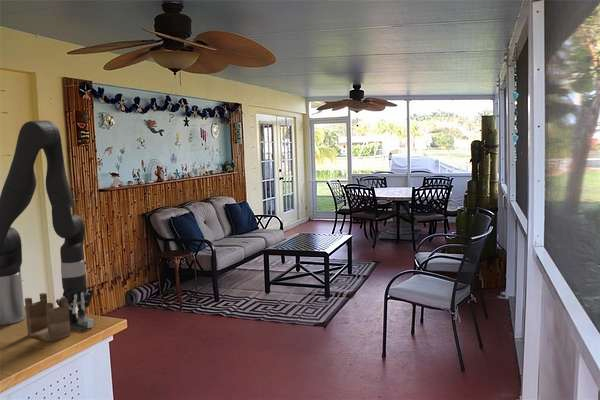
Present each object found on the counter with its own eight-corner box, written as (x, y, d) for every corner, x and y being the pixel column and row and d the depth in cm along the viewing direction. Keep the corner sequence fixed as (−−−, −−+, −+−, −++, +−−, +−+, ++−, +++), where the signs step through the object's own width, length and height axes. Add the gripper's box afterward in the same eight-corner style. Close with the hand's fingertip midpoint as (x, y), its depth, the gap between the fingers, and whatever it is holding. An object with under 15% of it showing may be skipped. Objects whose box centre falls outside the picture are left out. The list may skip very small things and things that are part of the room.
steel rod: (61, 319, 176) (60, 312, 176) (67, 316, 178) (67, 310, 178) (87, 328, 169) (87, 321, 169) (93, 325, 171) (93, 319, 171)
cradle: (28, 334, 166) (24, 298, 164) (46, 328, 171) (42, 292, 170) (52, 342, 160) (49, 304, 158) (70, 335, 165) (67, 298, 163)
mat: (60, 325, 174) (60, 324, 173) (75, 319, 179) (75, 318, 179) (79, 330, 169) (79, 329, 169) (94, 324, 174) (94, 323, 174)
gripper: (83, 267, 179) (87, 313, 181) (47, 277, 167) (52, 327, 169) (98, 269, 175) (101, 317, 178) (62, 280, 163) (66, 331, 166)
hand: (77, 321), depth 173 cm, fingers closed on steel rod, 2 cm apart
